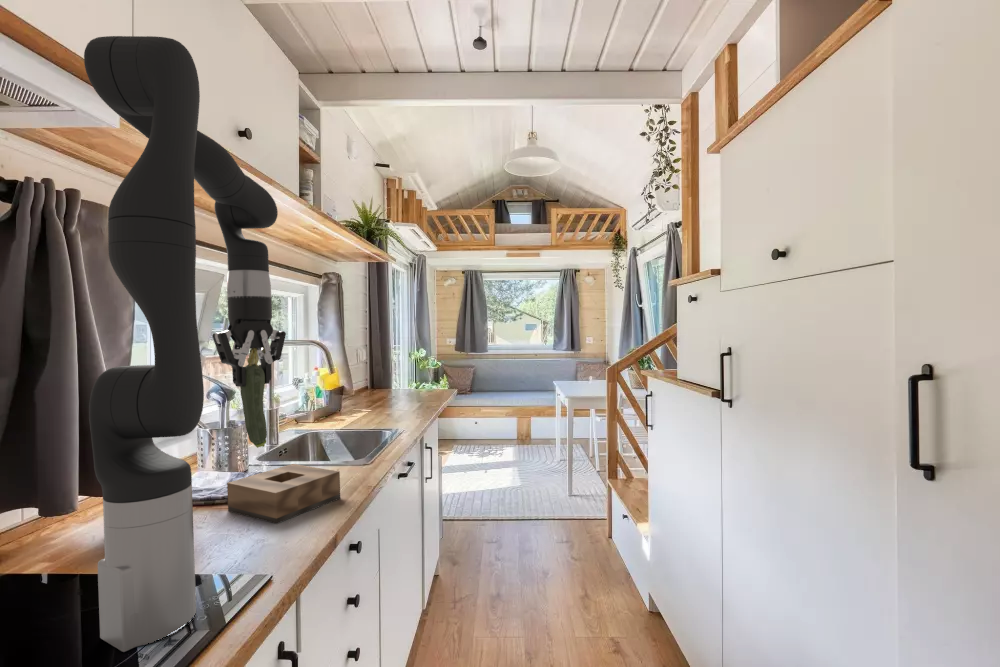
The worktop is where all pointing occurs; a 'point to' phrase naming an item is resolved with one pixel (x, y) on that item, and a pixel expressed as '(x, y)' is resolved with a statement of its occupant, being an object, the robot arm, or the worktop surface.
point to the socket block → (283, 492)
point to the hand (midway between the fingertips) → (253, 384)
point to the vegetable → (254, 400)
